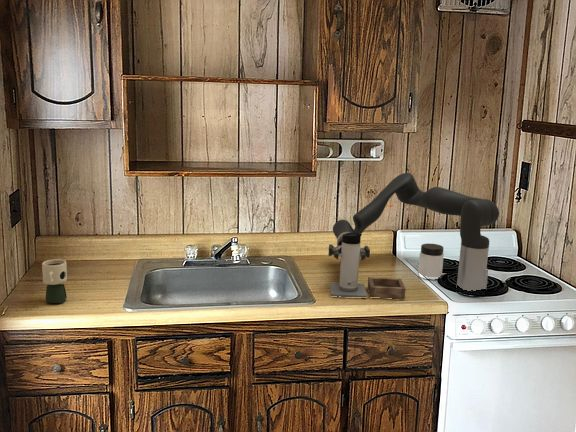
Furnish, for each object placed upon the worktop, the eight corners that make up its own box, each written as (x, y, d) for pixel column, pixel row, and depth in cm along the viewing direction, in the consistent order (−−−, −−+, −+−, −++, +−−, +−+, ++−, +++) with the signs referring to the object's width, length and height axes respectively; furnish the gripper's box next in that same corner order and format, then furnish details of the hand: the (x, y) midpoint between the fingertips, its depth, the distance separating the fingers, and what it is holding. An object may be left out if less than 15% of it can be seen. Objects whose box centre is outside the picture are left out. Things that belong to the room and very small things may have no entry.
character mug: (63, 308, 185) (61, 267, 182) (39, 308, 184) (36, 267, 181) (72, 295, 195) (70, 257, 192) (49, 295, 195) (47, 257, 192)
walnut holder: (400, 289, 212) (401, 278, 211) (404, 300, 201) (405, 288, 200) (367, 287, 212) (368, 277, 211) (370, 298, 202) (371, 287, 201)
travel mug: (352, 293, 203) (356, 236, 198) (335, 288, 206) (339, 232, 202) (361, 288, 208) (365, 232, 203) (345, 284, 211) (348, 229, 207)
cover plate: (363, 287, 213) (363, 283, 212) (366, 299, 201) (366, 295, 201) (329, 285, 213) (330, 282, 213) (330, 297, 201) (330, 294, 201)
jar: (446, 279, 225) (449, 248, 222) (429, 281, 221) (432, 250, 218) (429, 272, 232) (432, 242, 230) (413, 274, 228) (416, 244, 226)
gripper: (366, 254, 219) (370, 268, 203) (327, 253, 219) (328, 266, 204) (367, 234, 217) (371, 247, 201) (328, 233, 218) (329, 245, 202)
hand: (350, 256), depth 203 cm, fingers open, 8 cm apart
